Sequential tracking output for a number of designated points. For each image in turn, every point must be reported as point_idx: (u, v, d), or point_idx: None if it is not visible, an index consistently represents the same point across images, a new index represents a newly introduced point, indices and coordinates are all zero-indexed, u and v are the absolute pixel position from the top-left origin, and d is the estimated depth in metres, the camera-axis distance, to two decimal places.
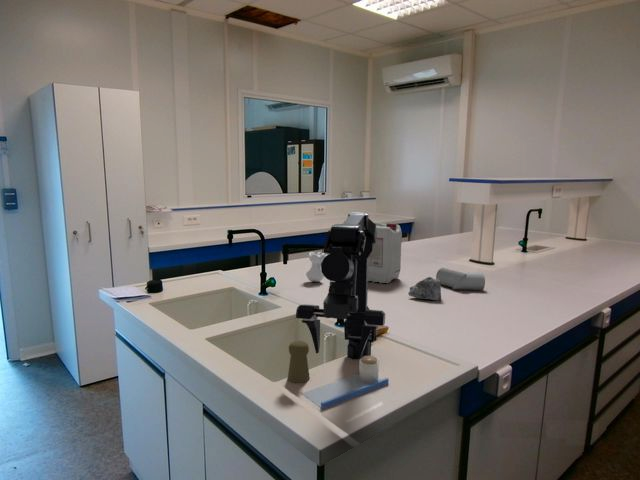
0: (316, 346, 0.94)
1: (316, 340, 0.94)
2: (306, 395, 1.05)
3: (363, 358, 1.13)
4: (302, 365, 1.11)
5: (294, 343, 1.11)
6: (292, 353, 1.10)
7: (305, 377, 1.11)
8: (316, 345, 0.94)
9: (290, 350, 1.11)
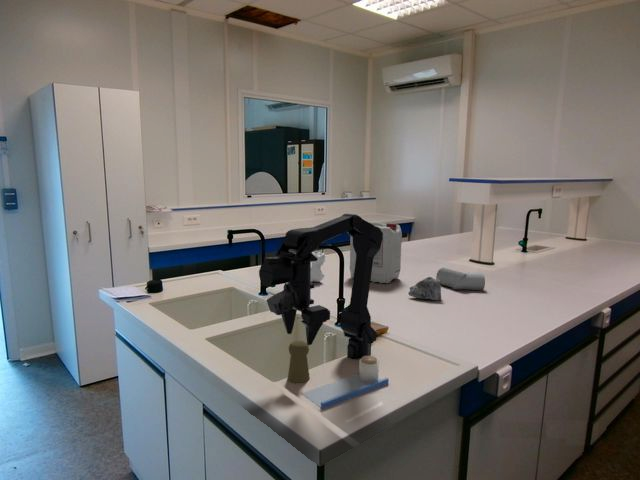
0: (286, 328, 1.15)
1: (285, 324, 1.15)
2: (306, 395, 1.05)
3: (363, 358, 1.13)
4: (302, 365, 1.11)
5: (294, 343, 1.11)
6: (292, 353, 1.10)
7: (305, 377, 1.11)
8: (286, 328, 1.15)
9: (290, 350, 1.11)
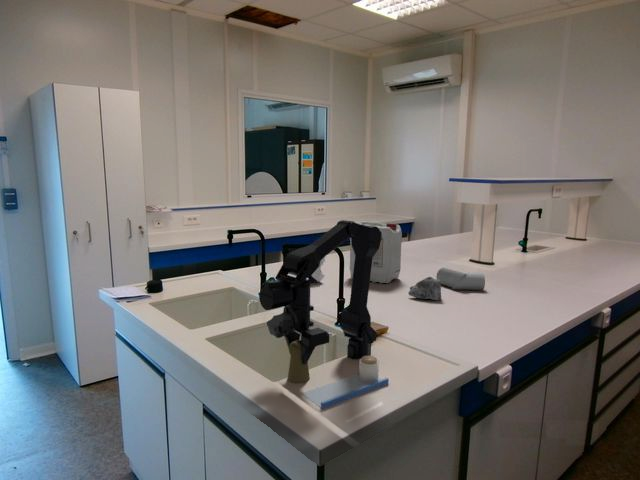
0: None
1: None
2: (306, 395, 1.05)
3: (363, 358, 1.13)
4: (302, 365, 1.11)
5: (294, 343, 1.11)
6: (292, 353, 1.10)
7: (305, 377, 1.11)
8: None
9: (290, 350, 1.11)
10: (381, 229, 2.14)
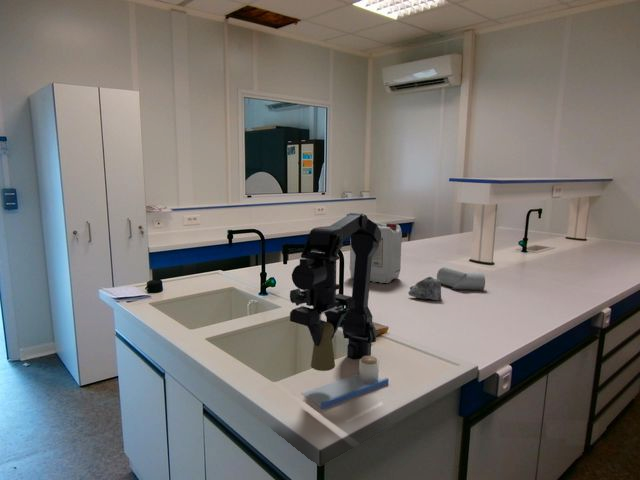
0: None
1: None
2: (306, 395, 1.05)
3: (363, 358, 1.13)
4: (316, 346, 1.05)
5: None
6: None
7: (316, 360, 1.05)
8: None
9: None
10: (381, 229, 2.14)
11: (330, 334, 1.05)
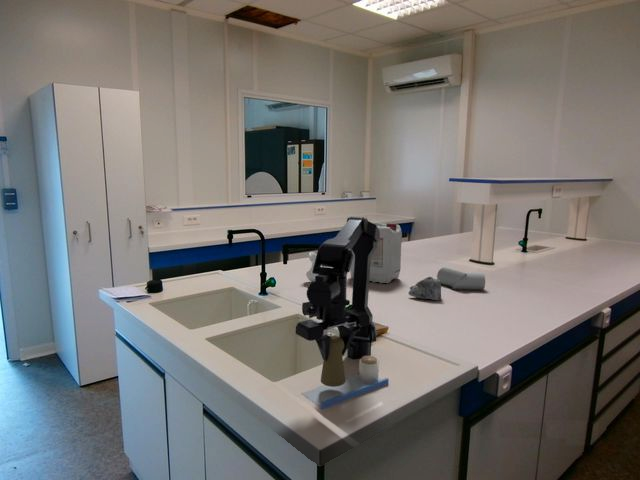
0: None
1: None
2: (306, 395, 1.05)
3: (363, 358, 1.13)
4: None
5: (331, 336, 1.06)
6: None
7: (324, 375, 1.05)
8: None
9: None
10: (381, 229, 2.14)
11: (338, 350, 1.03)
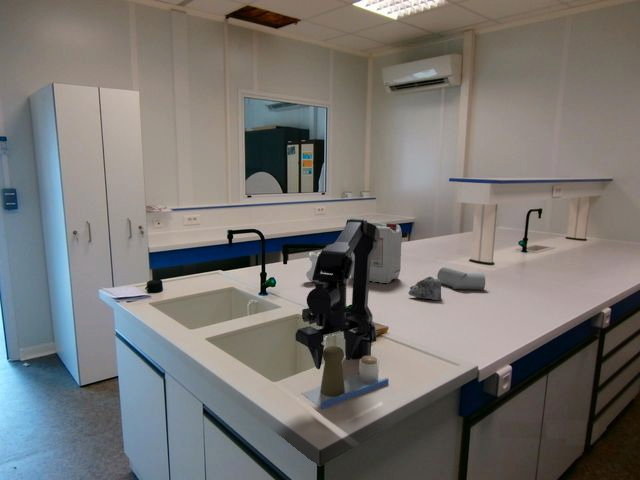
0: None
1: None
2: (306, 395, 1.05)
3: (363, 358, 1.13)
4: (325, 370, 1.05)
5: (331, 346, 1.06)
6: None
7: (324, 385, 1.05)
8: None
9: None
10: (381, 229, 2.14)
11: (338, 360, 1.04)
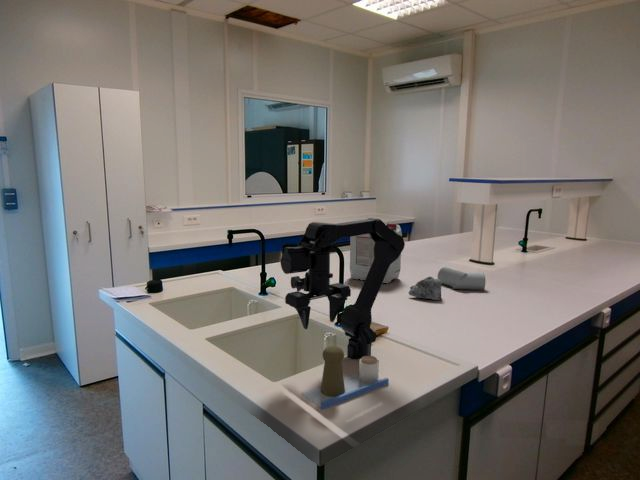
0: None
1: None
2: (306, 395, 1.05)
3: (363, 358, 1.13)
4: (324, 370, 1.05)
5: (331, 346, 1.06)
6: None
7: (324, 385, 1.05)
8: None
9: None
10: None
11: (338, 360, 1.04)
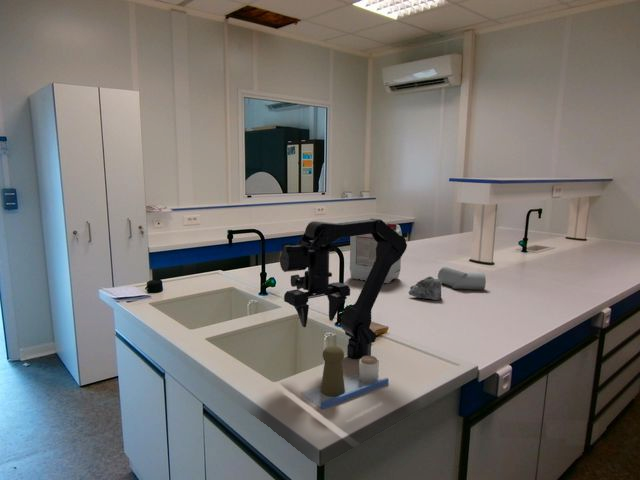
0: None
1: None
2: (306, 395, 1.05)
3: (363, 358, 1.13)
4: (325, 370, 1.05)
5: (331, 346, 1.06)
6: None
7: (324, 385, 1.05)
8: None
9: None
10: None
11: (338, 360, 1.04)
